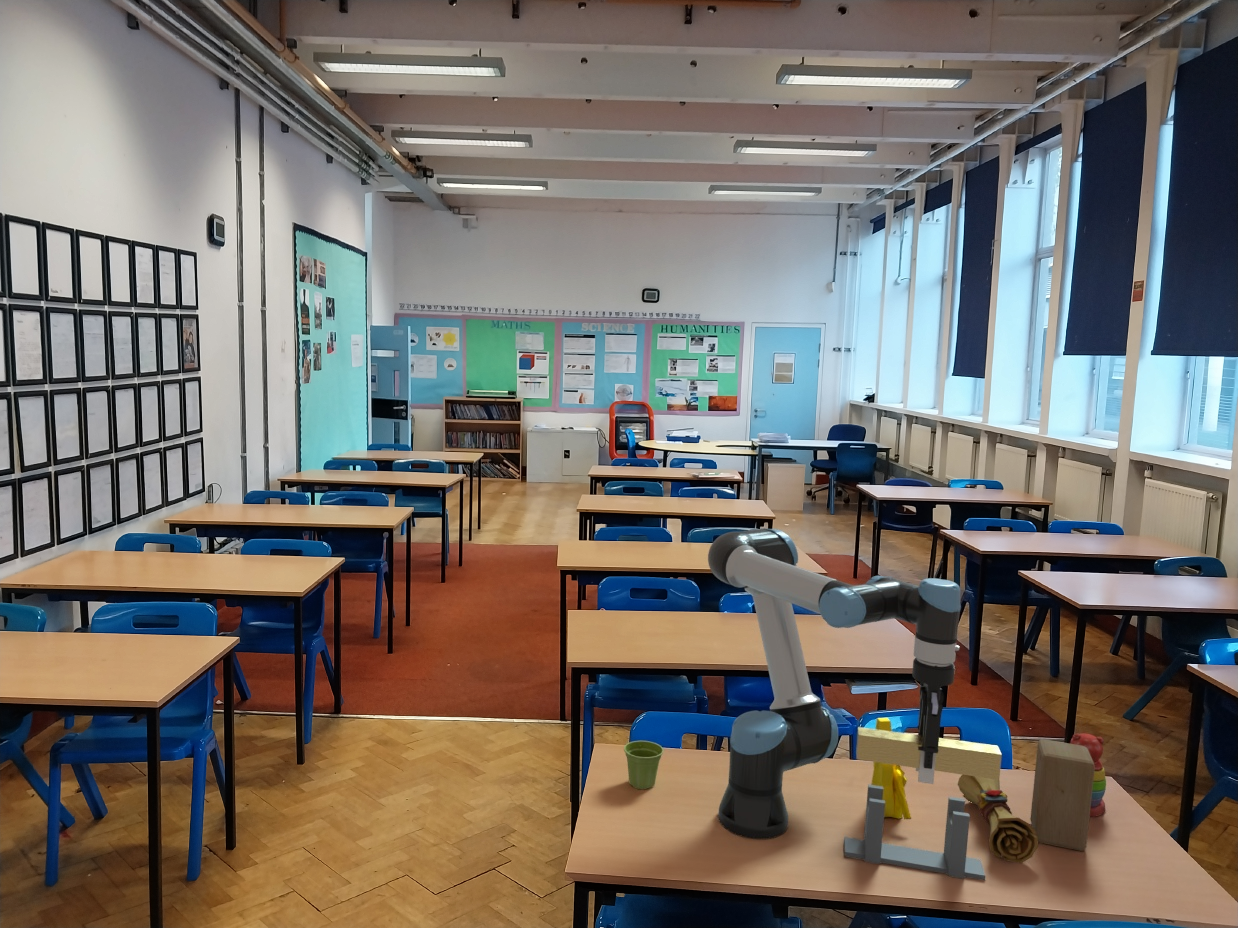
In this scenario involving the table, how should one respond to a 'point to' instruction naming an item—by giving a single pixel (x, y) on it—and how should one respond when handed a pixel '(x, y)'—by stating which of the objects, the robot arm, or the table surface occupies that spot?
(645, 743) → the plant pot
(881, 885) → the table surface
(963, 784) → the scroll
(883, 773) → the figure statuette
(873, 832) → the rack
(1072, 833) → the wooden block
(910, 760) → the rail
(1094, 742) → the stacking bear
